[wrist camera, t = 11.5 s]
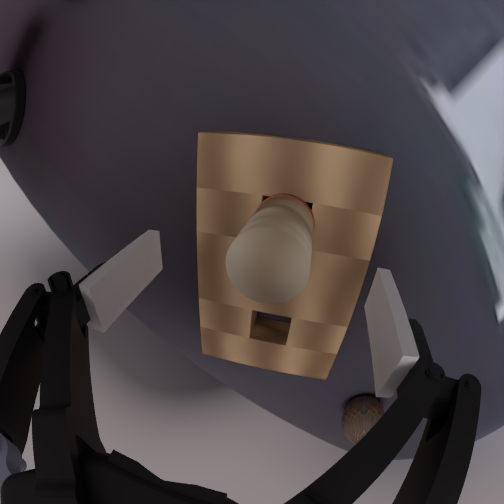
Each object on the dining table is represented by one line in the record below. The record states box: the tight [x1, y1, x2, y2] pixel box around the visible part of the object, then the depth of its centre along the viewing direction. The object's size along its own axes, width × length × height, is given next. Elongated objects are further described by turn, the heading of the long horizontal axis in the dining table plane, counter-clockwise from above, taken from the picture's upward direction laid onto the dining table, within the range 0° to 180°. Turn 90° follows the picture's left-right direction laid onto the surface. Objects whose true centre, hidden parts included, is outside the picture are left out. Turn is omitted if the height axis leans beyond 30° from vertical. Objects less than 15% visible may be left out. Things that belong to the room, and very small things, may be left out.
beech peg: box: [226, 193, 315, 304], centre depth 21 cm, size 5×5×12 cm
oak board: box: [197, 131, 393, 379], centre depth 27 cm, size 16×26×4 cm, turn 175°
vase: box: [341, 395, 384, 446], centre depth 33 cm, size 7×7×9 cm
